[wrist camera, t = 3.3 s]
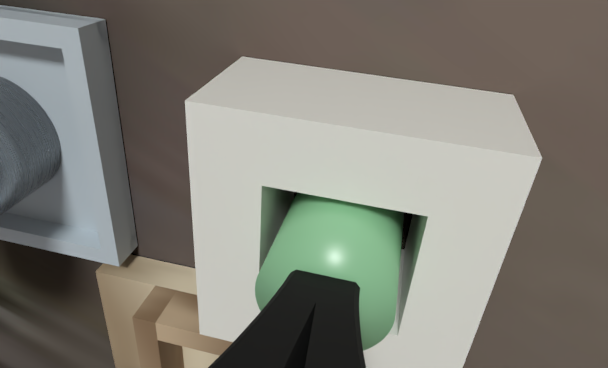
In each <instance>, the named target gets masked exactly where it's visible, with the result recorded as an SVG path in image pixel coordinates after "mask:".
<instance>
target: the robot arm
mask: <svg viewBox="0 0 608 368" xmlns="http://www.w3.org/2000/svg"><path fill="white" fill-rule="evenodd" d="M359 294H360V287H359V286H358V284H357V283H356V282H353V281H348V280H343V279H339V278H334V277H329V276H325V275H320V274H315V273H310V272H306V271H301V270H294V271H292V272H291V273H290V274H289V275H288V277H287V278H286V280H285V281H284V283H283V284H282V285H281V287H280V288H279V289H278V291H277V292H276V293H275V295H274V296H273V297H272V298H271V300H270V301H269V302H268V303H267V305H266V306H265V307H264V308H263V309H262V311H261V312H260V313H259V314H258V315H257V317H256V318H255V319H254V320H253V321H252V322H251V323H250V324H249V325H248V327H247V328H246V329H245V330H244V331H243V332H242V333H241V334H240V335H239V336H238V338H237V339H236V340H235V341H234V342H233V343H232V344H231V345H230V346H229V347H228V348H227V349H226V350H225V351H224V352H223V353H222V354H221V355H220V356H219V357H218V358H217V359H216V360H215V361H214V362H213V363H212V364H211V365H210V366H209V367H208V368H366V365H365V359H364V353H363V346H362V339H361V329H360V317H359Z"/></svg>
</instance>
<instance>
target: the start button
mask: <svg viewBox="0 0 608 368" xmlns="http://www.w3.org/2000/svg"><path fill="white" fill-rule="evenodd" d="M403 223H404V212H400V211H395V210H390V209H384V208H379V207H374V206H368V205H363V204H358V203H352V202H347V201H341V200H336V199H331V198H325V197H320V196H315V195H309V194H304V193H298V192H297V194H296V196H295V198H294V200H293V202H292V204H291V206H290V208H289V210H288V213H287V215H286V217H285V219H284V221H283V223H282V225H281V227H280V229H279V232H278V234H277V236H276V238H275V240H274V242H273V244H272V246H271V248H270V250H269V253H268V255H267V257H266V259H265V261H264V263H263V265H262V267H261V269H260V272H259V274H258V276H257V279H256V283H255V297H256V301H257V304H258V307H259V309H260V311H262V309H263V308H264V307H265V306H266V305H267V303H268V302H269V301H270V300H271V298H272V297H273V296H274V295H275V293H276V292H277V291H278V289H279V288H280V287H281V285H282V284H283V283H284V281H285V280H286V278H287V277H288V275H289V274H290V273H291V272H292V271H294V270H301V271H306V272H310V273H315V274H320V275H325V276H329V277H334V278H339V279H343V280H348V281H353V282H356V283H357V284H358V286H359V287H360V294H359V317H360V329H361V339H362V346H363V351H364V350H367V349H369V348H371V347H373V346H375V345H376V344H378V343H379V342H381V341H382V340H383V339H384V338H385V337H386V336H387V334H388V333H389V332H390V330H391V328H392V327H393V324H394V321H395V315H396V304H397V293H398V281H399V269H400V258H401V246H402V234H403Z"/></svg>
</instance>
